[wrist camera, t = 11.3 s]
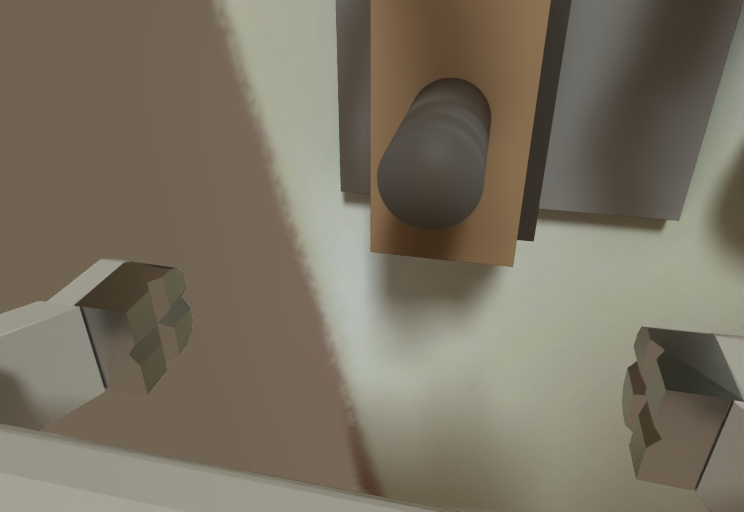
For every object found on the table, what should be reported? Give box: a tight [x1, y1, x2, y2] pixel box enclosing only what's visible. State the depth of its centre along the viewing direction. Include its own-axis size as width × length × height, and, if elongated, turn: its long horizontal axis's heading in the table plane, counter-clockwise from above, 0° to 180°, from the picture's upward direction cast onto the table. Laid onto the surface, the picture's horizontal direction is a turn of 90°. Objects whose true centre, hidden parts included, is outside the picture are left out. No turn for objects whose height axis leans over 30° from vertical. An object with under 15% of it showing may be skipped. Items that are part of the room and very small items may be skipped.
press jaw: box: [371, 0, 572, 267], centre depth 22 cm, size 7×12×14 cm, turn 0°
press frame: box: [336, 0, 744, 221], centre depth 23 cm, size 34×15×10 cm, turn 90°
